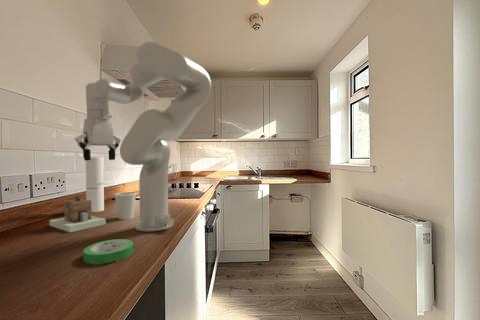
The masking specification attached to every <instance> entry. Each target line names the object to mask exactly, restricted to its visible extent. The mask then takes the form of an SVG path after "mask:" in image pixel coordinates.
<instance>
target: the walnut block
mask: <svg viewBox="0 0 480 320" xmlns="http://www.w3.org/2000/svg"><path fill="white" fill-rule="evenodd" d="M78 212H86V213H88V220H90V219H92V216H93V215H92V213H93V212H92V210H91V200H86V199H84V198H81V196H75V199H71V200H64V218H65V221H69V222H73V223H76V222H79V219H78Z"/></svg>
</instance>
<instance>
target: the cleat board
mask: <svg viewBox="0 0 480 320" xmlns="http://www.w3.org/2000/svg"><path fill="white" fill-rule="evenodd" d="M78 219H79V222H76V223H73V222H69V221H65V217H61V218H55V219H49V226H50V227H53V228H56V229H59V230H62V231H64V232H68V233H73V232H76V231H81V230H86V229H91V228H96V227H99V226H104V225H106V224H107V223H106V222H107V221H106V218H103V217H99V216H95V215H92V219H90V220H88V213H86V212H78Z"/></svg>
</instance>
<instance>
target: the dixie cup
mask: <svg viewBox="0 0 480 320" xmlns="http://www.w3.org/2000/svg"><path fill="white" fill-rule="evenodd" d="M113 196H114V198H115V199H114V201H115V205H116V211H117V218H118V220H130V219H133V218H134V216H135V215H134V214H135V206H136V205H135V204H136V196H137V192H136V191H135V192H133V191H127V192H126V191H125V192H116V193H114V194H113Z"/></svg>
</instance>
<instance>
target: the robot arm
mask: <svg viewBox="0 0 480 320" xmlns="http://www.w3.org/2000/svg"><path fill="white" fill-rule="evenodd" d="M135 57H136V61H137V62H136V63H134V64H132V65H131V67H130V69H129V73H130V78H131V80H132V82H130V83H128V84H124V83H121V82H118V81H115V80H111V79H109V78H101V79H98V80H97V81H95V82H90V83H88V84H86V85H85V99H86V100H85V102H86V104H85V105H86V118H84V122H83V127H82V134H80V135H77V136H75V137H74V140H75V142H76V143H77V146H79V148H80V149H81V150H82V155H83V160H84V161H85V162H86V161H87V160H91V157H92V155H91V149H90V147H91V146H103V147H104V146H107V148H108V149H109V150H108V160H109V161H115V160H116V150H117V148H118V147H119V155H120V158H121V159H122V161H123V162H124V163H126V164H128V165H132V166H141V170H140V173H139V178H138V179H139V180H138V181H139V182H138V183H139V184H138V185H139V186H138V187H139V191H138V193H139V196H138V197H139V222H137V223H136V224H135V225H134V228H135V230H136V231H139V232H158V231H163V230H168V229H170V228H172V227H173V226H174V222H175V219H174V218H171V214H170V213H169V179H168V178H169V163H170V157H171V148H170V145H169V143H168V142H170V141H175V140H178V139H179V138H180V137H181V135H182V134H183V132H184V131H186V129H187V128H188V126H189V125H190V123H191V122H192V121H193V119H194V118H195V116H196V114H198V113H199V111H200V110H201V108H203V106H204V105H205V104H206V103H207V102H208V100H209V98H210V96H211V92H212V80H211V77H210V75H209V73H208V72H207V71H206V70H205V68H203V66H201V65H200V64H199V63H196V62H195V61H193V60H191V59H190V58H189V57H187V56H185V55H183V54H182V53H179V52H177V51H175V50H173V49H170V48H168V47H166V46H163V45H161V44H159V43H157V42H155V41H146V42H144V43H142V44H141V45H140V46H139V47H138V48H137V51H136V56H135ZM163 80H167V81H170V82H171V83H174V84H177V85H178V86H181V87H184V88H185V90H184V91H182V92H181V93H179V94H178V95H177V96H176V97H175V98H174V99H173V100H172V102H171V103H170V105H169V106H168V107H167V108H166V109H165V110H161V109H156V108H151V109H150V108H149V109H147V110H145V111H144V112H142V113H141V114H140V115H139V116H138V117H137V118H136V120H135V121H134V122H133V125H132V126H131V128H130V129H129V131H128V132H127V134H126V135H125V136H124V138H123V139H122V142H121V139H120V138H119V137H116V136H115V135H114V130H113V124H112V121H111V120H110V119H112V114H110V111H109V101H110V102H115V103H119V104H131V103H133V102H135V101H138V100H139V99H141V98H143V96H144V95H145V94H146V92H147V90H148V87H150V86H153V85H154V84H156V83H158V82H160V81H161V82H162V81H163Z"/></svg>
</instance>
